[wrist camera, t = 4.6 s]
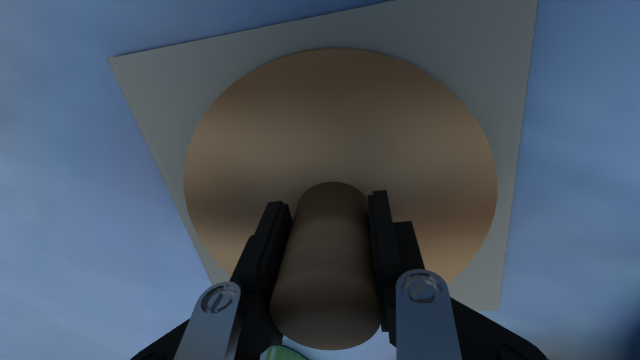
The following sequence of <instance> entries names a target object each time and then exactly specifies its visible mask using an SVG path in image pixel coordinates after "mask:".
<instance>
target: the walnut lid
mask: <svg viewBox="0 0 640 360" xmlns="http://www.w3.org/2000/svg"><path fill="white" fill-rule="evenodd" d="M183 183H184V195H185V201H186V205H187V209H188V213H189V216H190V219H191V221H192V224H193V227H194V229H195V231H196V233H197V235H198V236H199V238H200V240H201V242H202V244H203V245H204V247H205V248H206V249H207V251H208V252H209V253H210V255H211V256H212V257H213V259H214V260H215V261H216V262H217V263H218V264H219V265H220V266H221V267H222V268H223V269H224V270H225V271H226V272H227V273H228V274H229V275H230V276H232V274H233V272H234V269H235V267H236V265H237V263H238V261H239V258H240V256H241V254H242V252H243V249H244V247H245V245H246V243H247V241H248V238H249V237H250V236H251V235H254V233H255V231H256V229H257V227H258V224H259V222H260V220H261V217H262V215H263V213H264V210H265V208H266V206H267V204H268V202H274V201H283V203H284V204H288V206H289V209H290V213H291V217H292V220H293V222H292V226H291V229H290V233H289V236H288V240H287V244H286V247H285V251H284V254H283V258H282V261H281V265H280V269H279V272H278V276H277V279H276V283H275V287H274V290H273V294H272V297H271V301H270V307H269V310H270V316H271V319H272V321H273V323H274V324H275V326H276V327H277V328H278V329H279V331H280V332H282V333H283V334H284V335H285V336H286V337H288V338H289V339H291V340H293V341H295V342H297V343H299V344H301V345H304V346H307V347H311V348H315V349H321V350H342V349H348V348H352V347H355V346H357V345H360V344H362V343H364V342H366V341H367V340H369V339H370V338H371V337H372V336H373V335H374V334H375V333H376V332H377V330H378V328H379V326H380V324H381V319H382V313H381V303H380V298H379V296H378V294H377V291H376V283H375V275H374V267H373V258H372V246H371V234H370V222H369V210H368V198H367V195H373V192H372V191H377V190H387V195H388V201H389V206H390V211H391V216H392V221H393V222H403V221H412V224H413V228H414V231H415V235H416V238H417V242H418V245H419V249H420V252H421V256H422V259H423V263H424V266H425V270H429V271H432V272H435V273H436V274H438V275H439V276H441V277H442V278H443V279H444V281H445V282H446V284H448V283H449V282H450V281H451V280H453V279H454V278H455V277H456V276H457V275H458V274H460V273H461V271H462V270H463V269H464V268H465V267H466V266H467V265H468V264H469V263H470V262H471V260H472V259H473V258H474V256H475V255H476V253H477V252H478V251H479V249H480V248H481V246H482V244H483V242H484V240H485V238H486V236H487V234H488V232H489V230H490V227H491V224H492V221H493V218H494V215H495V209H496V203H497V197H498V178H497V172H496V166H495V160H494V156H493V154H492V151H491V148H490V145H489V142H488V139H487V137H486V136H485V134H484V132H483V130H482V128H481V126H480V125H479V123H478V121H477V120H476V118H475V117H474V116H473V115H472V113H471V112H470V111H469V109H468V108H467V107H466V106H465V104H464V103H463V102H462V101H461V100H460V99H459V98H457V97H456V96H455V95H454V94H453V93H452V92H451V91H450V90H449V89H448V88H447V87H446V86H444V85H443V84H442V83H441V82H439V81H438V80H436V79H435V78H433V77H432V76H430V75H429V74H427V73H426V72H424V71H423V70H422V69H419V68H417V67H415V66H413V65H411V64H409V63H407V62H405V61H403V60H401V59H398V58H395V57H392V56H388V55H385V54H382V53H379V52H375V51H368V50H362V49H356V48H329V47H328V48H320V49H312V50H304V51H300V52H297V53H293V54H289V55H286V56H282V57H279V58H277V59H275V60H273V61H270V62H268V63H266V64H263V65H261V66H259V67H258V68H256V69H254V70H253V71H251V72H250V73H248V74H246V75H245V76H243V77H242V78H240V79H239V80H237V81H235V82H234V83H233V84H232V85H231V86H230V87H228V88H227V89H226V90H225V91H224V92H223V93H221V94H220V95H219V96H218V97H217V98H216V100H215V101H214V102H213V103H212V104H211V106H210V107H209V108H208V109H207V110H206V112H205V113H204V115H203V116H202V118H201V120H200V121H199V123H198V125H197V126H196V128H195V130H194V133H193V135H192V138H191V140H190V143H189V146H188V150H187V154H186V159H185V163H184V177H183Z"/></svg>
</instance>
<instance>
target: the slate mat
mask: <svg viewBox="0 0 640 360" xmlns="http://www.w3.org/2000/svg"><path fill="white" fill-rule="evenodd" d="M537 8H538V0H394V1H389V2H384V3H379V4H374V5H369V6H364V7H359V8H354V9H349V10H344V11H339V12H334V13H330V14H325V15H320V16H315V17H310V18H305V19H300V20H295V21H290V22H285V23H280V24H275V25H270V26H265V27H260V28H256V29H251V30H246V31H241V32H236V33H231V34H226V35H221V36H216V37H211V38H206V39H201V40H196V41H191V42H187V43H182V44H177V45H172V46H167V47H162V48H157V49H152V50H147V51H142V52H137V53H132V54H127V55H122V56H118V57H113V58H108V59H107V61H108V63H109V65H110V67H111V69H112V71H113V73H114V75H115V78H116V80H117V82H118V84H119V86H120V88H121V90H122V93H123V95H124V97H125V99H126V101H127V103H128V105H129V108H130V110H131V112H132V114H133V116H134V118H135V120H136V123H137V125H138V127H139V129H140V131H141V133H142V135H143V138H144V140H145V142H146V144H147V146H148V148H149V150H150V152H151V155H152V157H153V159H154V161H155V163H156V165H157V167H158V170H159V172H160V174H161V176H162V178H163V180H164V182H165V185H166V187H167V189H168V191H169V193H170V195H171V197H172V200H173V202H174V204H175V206H176V208H177V210H178V212H179V215H180V217H181V219H182V221H183V223H184V225H185V227H186V229H187V232H188V234H189V236H190V238H191V240H192V242H193V244H194V247H195V249H196V251H197V253H198V255H199V257H200V259H201V262H202V264H203V266H204V268H205V270H206V272H207V274H208V277H209V279H210V281H211V283H212V285H215V284H217V283H221V282H229V280H230V278H231V276H230V275H229V274H228V273H227V272H226V271H225V270H224V269H223V268H222V267H221V266H220V265H219V264H218V263H217V262H216V261H215V260H214V259H213V257H212V256H211V255H210V253H209V252H208V251H207V249H206V248H205V247H204V245H203V244H202V242H201V240H200V238H199V236H198V235H197V233H196V231H195V229H194V227H193V224H192V221H191V219H190V216H189V213H188V209H187V205H186V201H185V195H184V183H183V177H184V163H185V159H186V154H187V150H188V146H189V143H190V140H191V138H192V135H193V133H194V130H195V128H196V126H197V125H198V123H199V121H200V120H201V118H202V116H203V115H204V113H205V112H206V110H207V109H208V108H209V107H210V106H211V104H212V103H213V102H214V101H215V100H216V98H217V97H218V96H219V95H220V94H221V93H223V92H224V91H225V90H226V89H227V88H228V87H230V86H231V85H232V84H233V83H234V82H235V81H237V80H239V79H240V78H242V77H243V76H245V75H246V74H248V73H250V72H251V71H253V70H254V69H256V68H258V67H259V66H261V65H263V64H266V63H268V62H270V61H273V60H275V59H277V58H279V57H282V56H286V55H289V54H293V53H297V52H300V51H304V50H312V49H320V48H328V47H329V48H356V49H362V50H368V51H375V52H379V53H382V54H385V55H388V56H392V57H395V58H398V59H401V60H403V61H405V62H407V63H409V64H411V65H413V66H415V67H417V68H419V69H422V70H423V71H424V72H426V73H427V74H429V75H430V76H432V77H433V78H435V79H436V80H438V81H439V82H441V83H442V84H443V85H444V86H446V87H447V88H448V89H449V90H450V91H451V92H452V93H453V94H454V95H455V96H456V97H457V98H459V99H460V100H461V101H462V102H463V103H464V104H465V106H466V107H467V108H468V109H469V111H470V112H471V113H472V115H473V116H474V117H475V118H476V120H477V121H478V123H479V125H480V126H481V128H482V130H483V132H484V134H485V136H486V137H487V139H488V142H489V145H490V148H491V151H492V154H493V156H494V160H495V166H496V172H497V178H498V197H497V203H496V209H495V215H494V218H493V221H492V224H491V227H490V230H489V232H488V234H487V236H486V238H485V240H484V242H483V244H482V246H481V248H480V249H479V251H478V252H477V253H476V255H475V256H474V258H473V259H472V260H471V262H470V263H469V264H468V265H467V266H466V267H465V268H464V269H463V270H462V271H461V273H460V274H458V275H457V276H456V277H455V278H454V279H453V280H451V281H450V282H449V283H448V284H447V286H448V289H449V295H450V297H452V298H453V299H455V300H457V301H459V302H460V303H462V304H464V305H466V306H467V307H469V308H471V309H473V310H474V311H493V310H499V303H500V295H501V287H502V279H503V272H504V264H505V256H506V248H507V241H508V233H509V225H510V217H511V209H512V202H513V194H514V186H515V178H516V171H517V163H518V155H519V147H520V140H521V132H522V124H523V116H524V109H525V101H526V93H527V85H528V78H529V70H530V62H531V54H532V47H533V39H534V31H535V23H536V15H537Z"/></svg>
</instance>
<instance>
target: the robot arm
mask: <svg viewBox="0 0 640 360" xmlns="http://www.w3.org/2000/svg"><path fill="white" fill-rule="evenodd" d="M372 192H373V195H367V198H368V210H369V222H370V234H371V246H372V258H373V267H374V275H375V283H376V291H377V294H378V296H379V298H380V303H381V313H382V319H381V329H382V332H389V340H390V343H391V344H392V345H393V346H395V347H396V354H397V360H550V359H547V358H546V356H545V355H544V354H543V353H542V352H541V351H540V350H539V349H538V348H537V347H536V346H534V345H533V344H532V343H530V342H529V341H527V340H525V339H524V338H522V337H520V336H518V335H517V334H515V333H513V332H511V331H509V330H508V329H506V328H504V327H502V326H501V325H499V324H497V323H495V322H494V321H492V320H490V319H488V318H487V317H485V316H483V315H481V314H480V313H478V312H476V311H474V310H473V309H471V308H469V307H467V306H466V305H464V304H462V303H460V302H459V301H457V300H455V299H453V298H452V297H450V295H449V289H448V286H447V284H446V282H445V281H444V279H443V278H442V277H441V276H439V275H438V274H436V273H435V272H432V271H429V270H425V266H424V263H423V259H422V256H421V252H420V249H419V245H418V242H417V238H416V235H415V231H414V228H413V224H412V221H403V222H393V221H392V216H391V211H390V206H389V201H388V195H387V190H377V191H372ZM292 222H293V220H292V217H291V213H290V209H289V206H288V204H284V203H283V201H274V202H268V204H267V206H266V208H265V210H264V213H263V215H262V217H261V220H260V222H259V224H258V227H257V229H256V231H255V233H254V235H251V236H250V237H249V238H248V241H247V243H246V245H245V247H244V249H243V252H242V254H241V256H240V258H239V261H238V263H237V265H236V267H235V269H234V272H233V274H232V276H231V278H230V280H229V282H221V283H217V284H215V285H213V286H211V287H210V288H208V289H207V290H206V291H205V292H204V293H203V294H202V295H201V296H200V297H199V299H198V301H197V303H196V305H195V308H194V310H193V313H192V315H191V318H190V319H188V320H187V321H185V322H184V323H182V324H181V325H179V326H178V327H176V328H175V329H173V330H172V331H170V332H169V333H167V334H166V335H164V336H163V337H161V338H160V339H158V340H157V341H155V342H154V343H152V344H151V345H149V346H148V347H146V348H145V349H143V350H142V351H140V352H139V353H138V354H136V355H135V356H134V357H132V358H131V360H266V350H267V349H268V348H269V347H271V346H281V343H282V338H283V335H284V334H283V333H282V332H280V331H279V329H278V328H277V327H276V326H275V324H274V323H273V321H272V319H271V316H270V310H269V307H270V301H271V297H272V294H273V290H274V287H275V283H276V279H277V276H278V272H279V269H280V265H281V261H282V258H283V254H284V251H285V247H286V244H287V240H288V236H289V233H290V229H291V226H292Z"/></svg>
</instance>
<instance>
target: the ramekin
mask: <svg viewBox="0 0 640 360" xmlns="http://www.w3.org/2000/svg"><path fill="white" fill-rule="evenodd" d="M266 360H306V359H305V358H304V357H303V356H301V355H300V354H298V353H297V352H295V351H293V350H291V349H289V348H287V347H284V346H271V347H269V348H268V349H267V350H266Z"/></svg>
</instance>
